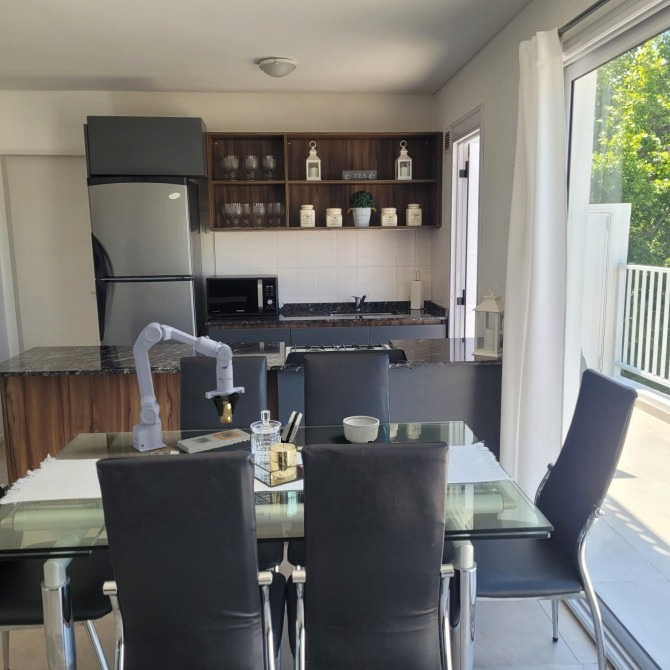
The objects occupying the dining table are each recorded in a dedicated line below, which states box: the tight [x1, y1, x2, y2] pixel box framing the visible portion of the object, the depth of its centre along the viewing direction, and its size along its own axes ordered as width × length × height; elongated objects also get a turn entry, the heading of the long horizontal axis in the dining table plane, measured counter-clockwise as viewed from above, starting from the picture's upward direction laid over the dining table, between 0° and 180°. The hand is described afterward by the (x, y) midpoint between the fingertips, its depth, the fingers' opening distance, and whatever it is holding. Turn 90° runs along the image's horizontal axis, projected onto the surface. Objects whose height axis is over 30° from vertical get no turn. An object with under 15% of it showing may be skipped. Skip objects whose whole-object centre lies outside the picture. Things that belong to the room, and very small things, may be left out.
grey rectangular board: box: [176, 428, 252, 454], centre depth 210 cm, size 24×10×2 cm, turn 128°
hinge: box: [280, 411, 303, 444], centre depth 217 cm, size 17×5×10 cm, turn 177°
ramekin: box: [342, 415, 380, 444], centre depth 213 cm, size 13×13×7 cm
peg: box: [220, 401, 233, 424], centre depth 212 cm, size 4×4×7 cm
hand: (226, 414), depth 212 cm, fingers closed on peg, 4 cm apart
